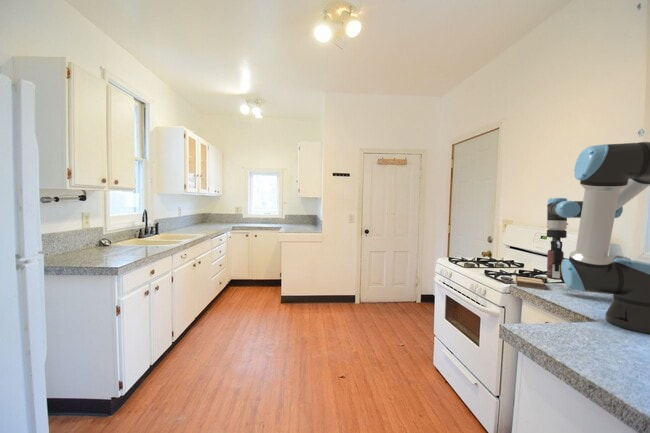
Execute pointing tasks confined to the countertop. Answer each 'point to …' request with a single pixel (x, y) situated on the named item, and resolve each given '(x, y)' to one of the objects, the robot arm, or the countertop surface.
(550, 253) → the can
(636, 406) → the countertop surface
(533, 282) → the stand
